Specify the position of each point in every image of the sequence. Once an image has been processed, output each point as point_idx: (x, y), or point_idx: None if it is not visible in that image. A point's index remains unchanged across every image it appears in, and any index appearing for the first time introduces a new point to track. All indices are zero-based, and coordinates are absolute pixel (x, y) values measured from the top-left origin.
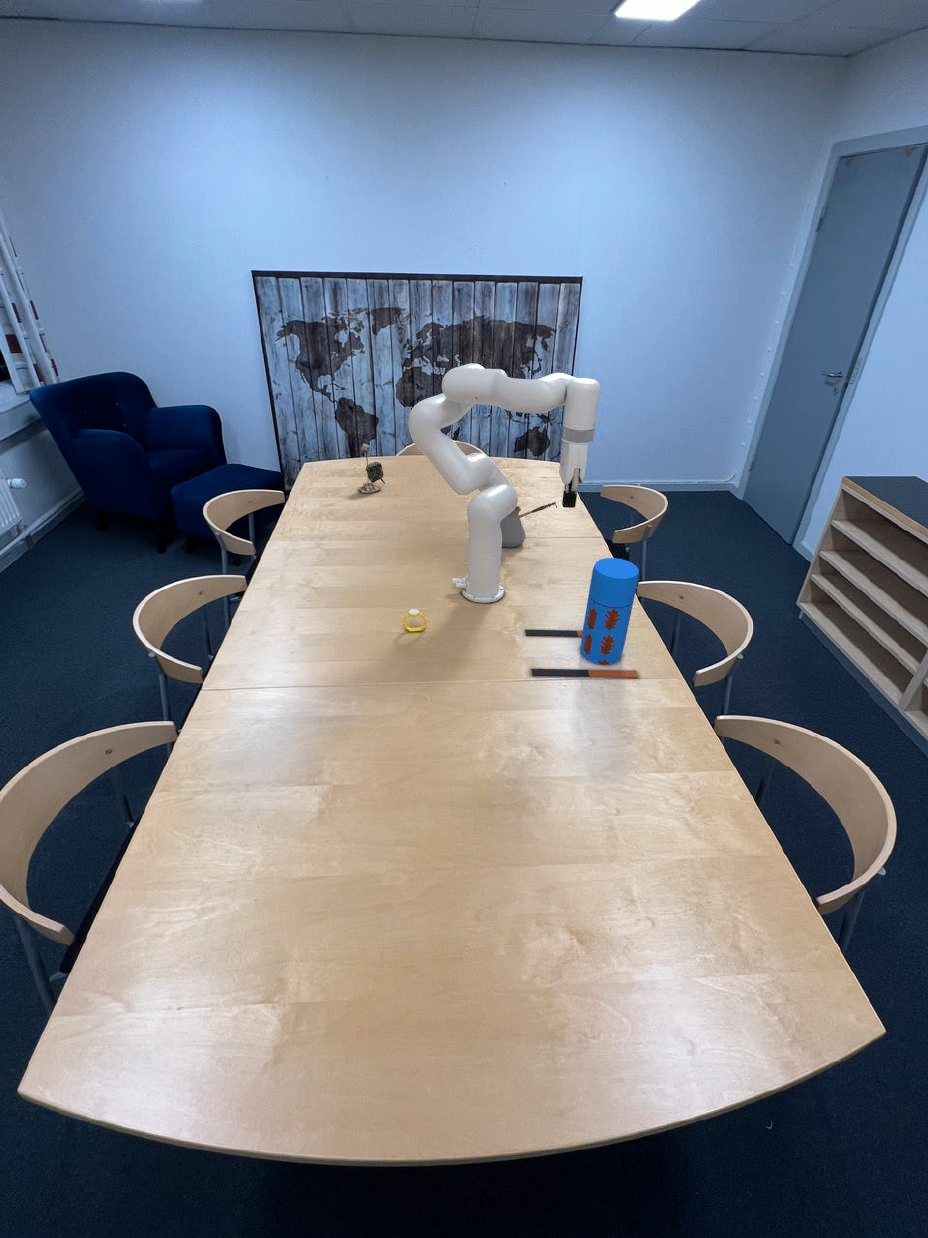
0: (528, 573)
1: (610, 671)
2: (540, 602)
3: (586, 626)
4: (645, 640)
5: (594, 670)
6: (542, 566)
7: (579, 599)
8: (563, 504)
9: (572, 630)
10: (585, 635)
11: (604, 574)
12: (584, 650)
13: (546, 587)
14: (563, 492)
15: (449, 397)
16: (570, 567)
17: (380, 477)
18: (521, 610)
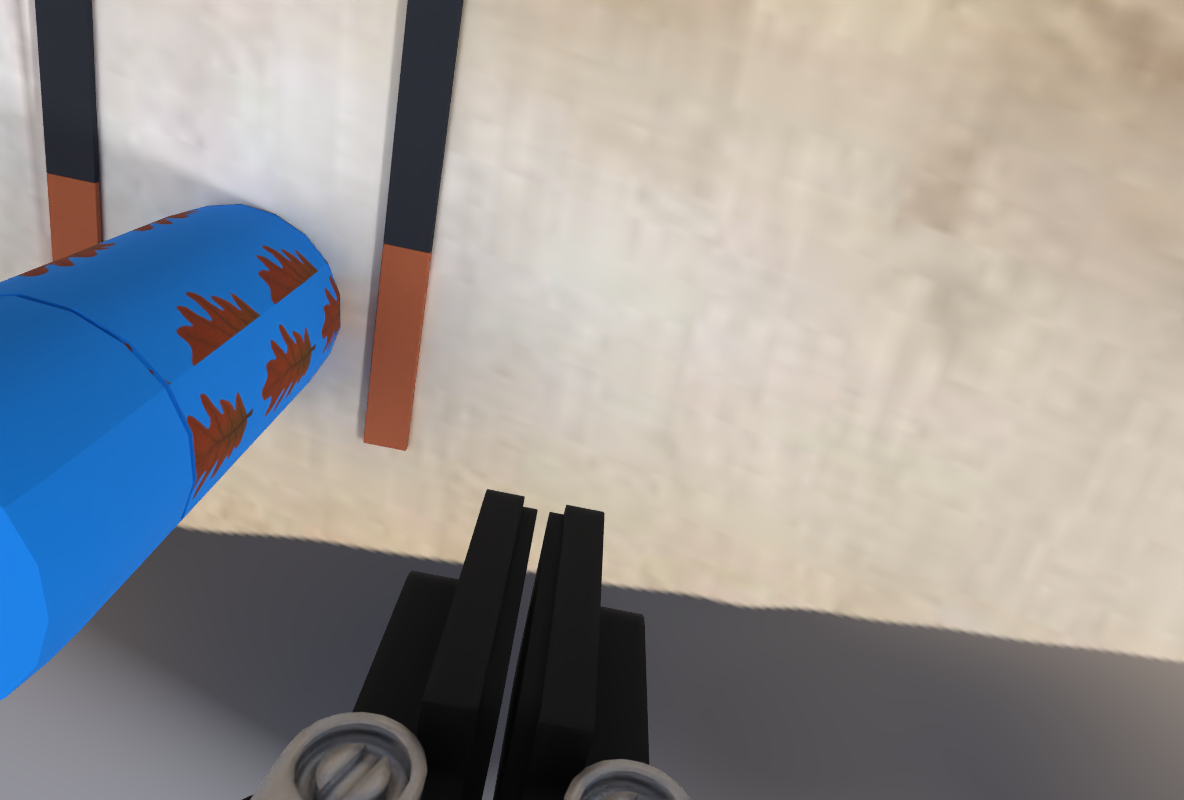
0: (1102, 193)
1: None
2: (750, 156)
3: (127, 239)
4: (341, 523)
5: (92, 213)
6: (1149, 307)
7: (729, 379)
8: (481, 517)
9: (431, 232)
10: (154, 227)
11: None
12: (189, 211)
13: (902, 248)
14: (579, 683)
15: None
16: (1069, 455)
17: None
18: (689, 5)
